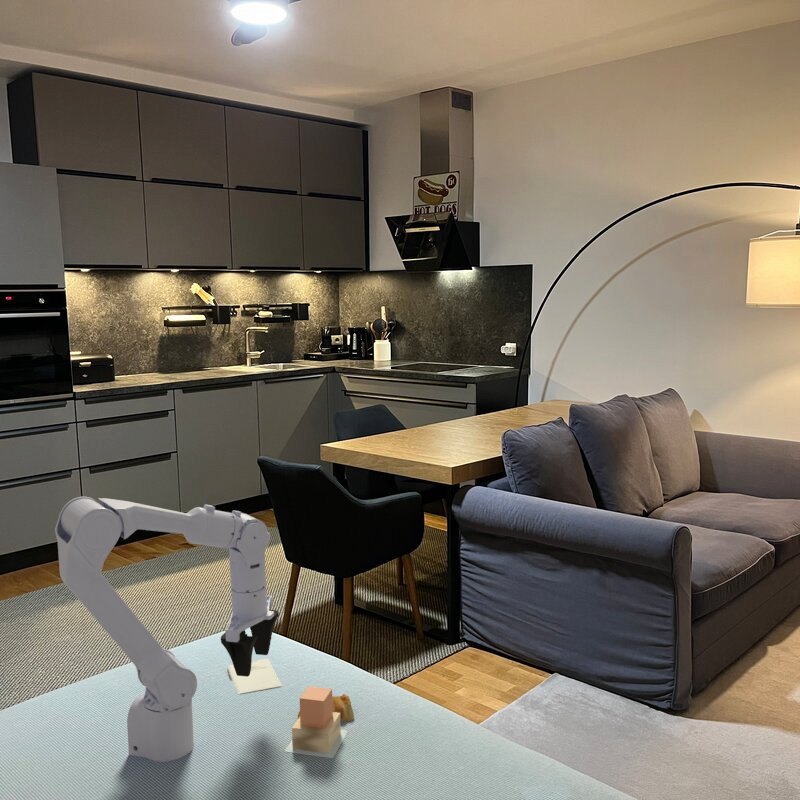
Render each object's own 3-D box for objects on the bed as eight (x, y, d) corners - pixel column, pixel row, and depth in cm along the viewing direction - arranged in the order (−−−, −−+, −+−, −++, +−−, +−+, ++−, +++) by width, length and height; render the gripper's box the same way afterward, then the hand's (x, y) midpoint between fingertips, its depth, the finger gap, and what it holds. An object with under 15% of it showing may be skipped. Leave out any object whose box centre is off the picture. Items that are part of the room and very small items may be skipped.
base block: (292, 748, 124) (292, 727, 124) (305, 728, 130) (305, 708, 129) (328, 753, 123) (328, 732, 122) (340, 733, 128) (340, 712, 128)
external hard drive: (238, 702, 141) (227, 672, 153) (283, 694, 144) (269, 665, 156) (237, 694, 141) (227, 664, 153) (282, 685, 144) (269, 657, 156)
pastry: (302, 736, 130) (301, 714, 129) (294, 716, 136) (293, 695, 136) (357, 725, 133) (356, 704, 132) (346, 707, 139) (346, 686, 139)
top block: (300, 725, 124) (299, 698, 124) (309, 712, 128) (308, 686, 128) (324, 728, 123) (323, 701, 123) (332, 715, 127) (332, 688, 127)
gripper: (253, 605, 122) (257, 687, 124) (287, 572, 136) (291, 647, 138) (211, 602, 124) (216, 683, 126) (249, 570, 138) (253, 643, 140)
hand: (252, 664), depth 132 cm, fingers open, 7 cm apart
